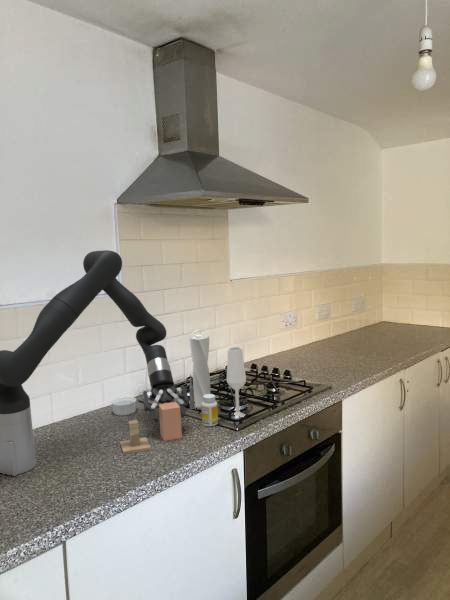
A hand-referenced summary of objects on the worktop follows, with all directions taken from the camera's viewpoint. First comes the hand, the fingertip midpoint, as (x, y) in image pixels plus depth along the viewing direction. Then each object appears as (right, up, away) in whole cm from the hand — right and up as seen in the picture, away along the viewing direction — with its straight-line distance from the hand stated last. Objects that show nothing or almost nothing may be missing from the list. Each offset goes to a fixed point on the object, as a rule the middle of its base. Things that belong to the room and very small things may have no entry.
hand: (170, 419), depth 155 cm
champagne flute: (+22, -3, +15) cm, 26 cm away
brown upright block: (0, -6, +1) cm, 6 cm away
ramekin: (-19, -4, +25) cm, 32 cm away
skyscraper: (+9, -2, +28) cm, 30 cm away
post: (-10, -7, -6) cm, 13 cm away
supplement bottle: (+12, -4, +10) cm, 16 cm away
